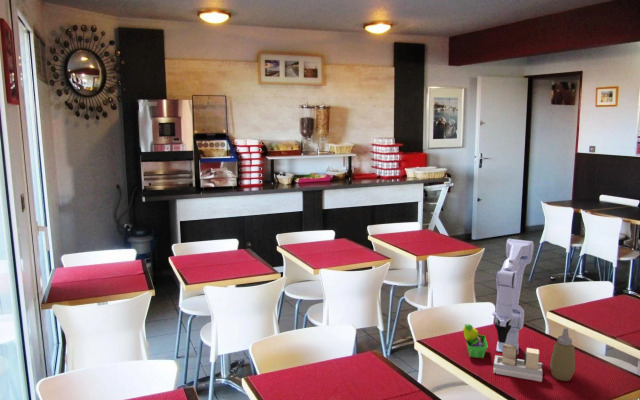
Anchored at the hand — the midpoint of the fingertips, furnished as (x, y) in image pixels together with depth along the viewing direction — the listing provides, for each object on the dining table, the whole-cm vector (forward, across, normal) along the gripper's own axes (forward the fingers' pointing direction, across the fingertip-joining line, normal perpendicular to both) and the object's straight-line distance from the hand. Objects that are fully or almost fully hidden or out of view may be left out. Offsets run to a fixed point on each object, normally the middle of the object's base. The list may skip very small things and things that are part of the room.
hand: (502, 338), depth 195 cm
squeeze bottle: (+10, +4, +20) cm, 23 cm away
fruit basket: (+10, -5, -10) cm, 15 cm away
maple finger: (+8, +5, +3) cm, 10 cm away
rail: (+9, +5, +6) cm, 12 cm away
